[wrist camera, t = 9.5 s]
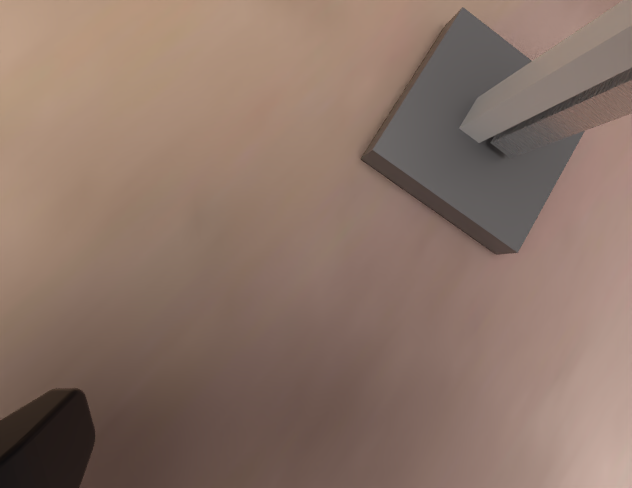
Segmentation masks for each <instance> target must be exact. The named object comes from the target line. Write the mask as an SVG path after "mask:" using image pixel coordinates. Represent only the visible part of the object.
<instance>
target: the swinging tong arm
mask: <svg viewBox="0 0 632 488" xmlns="http://www.w3.org/2000/svg"><path fill="white" fill-rule="evenodd" d="M629 114H632V68H630V69H628V70H626V71H624V72H622V73H620V74H617V75H615V76H613V77H611V78H609V79H607V80H605V81H603V82H601V83H599V84H597V85H595V86H593V87H591V88H589V89H587V90H585V91H583V92H581V93H579V94H577V95H575V96H573V97H571V98H569V99H567V100H565V101H563V102H561V103H559V104H557V105H555V106H553V107H551V108H549V109H547V110H545V111H543V112H541V113H539V114H537V115H535V116H533V117H531V118H529V119H527V120H525V121H523V122H521V123H519V124H517V125H515V126H513V127H511V128H509V129H507V130H505V131H503V132H501V133H499V134H497V135H495V136H494V137H493V139H492V141H491V142H490V143H491V144H492V145H494V146H495V147H496V148H498V149H499V150H500V151H501V152H503V153H504V154H505V155H507V156H508V157H509V158H512V157H514V156H517V155H520V154H523V153H525V152H528V151H531V150H534V149H536V148H539V147H542V146H544V145H547V144H550V143H553V142H555V141H558V140H561V139H563V138H566V137H569V136H572V135H574V134H577V133H580V132H583V131H585V130H588V129H591V128H593V127H596V126H599V125H602V124H604V123H607V122H610V121H612V120H615V119H618V118H621V117H623V116H626V115H629Z"/></svg>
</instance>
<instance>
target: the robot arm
mask: <svg viewBox="0 0 632 488" xmlns="http://www.w3.org/2000/svg"><path fill="white" fill-rule="evenodd" d="M94 442H95V429H94V425H93V422H92V418H91V414H90V411H89V407H88V403H87V400H86V396H85V394H84V392H83V391H82V390H80V389H78V388H58V389H53V390H50V391H48V392H47V393H45V394H43V395H42V396H40V397H38V398H37V399H35V400H33V401H32V402H30V403H28V404H27V405H25V406H23V407H22V408H20V409H18V410H17V411H15V412H13V413H12V414H10V415H8V416H7V417H5V418H3V419H2V420H0V488H79V487H80V484H81V481H82V479H83V476H84V473H85V470H86V467H87V464H88V461H89V458H90V455H91V453H92V450H93V446H94Z"/></svg>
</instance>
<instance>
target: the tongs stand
mask: <svg viewBox="0 0 632 488" xmlns="http://www.w3.org/2000/svg"><path fill="white" fill-rule="evenodd" d="M630 68H632V0H623V1H621V2H620V3H618V4H617V5H615V6H614V7H612V8H611V9H609V10H608V11H606V12H605V13H603V14H602V15H600V16H599V17H597V18H596V19H594V20H593V21H591V22H590V23H588V24H587V25H585V26H584V27H582V28H581V29H579V30H578V31H576V32H575V33H573V34H572V35H570V36H569V37H567V38H566V39H564V40H563V41H561V42H560V43H558V44H557V45H555V46H554V47H552V48H551V49H549V50H548V51H546V52H545V53H543V54H542V55H540V56H539V57H537V58H536V59H534V60H533V61H531V60H530V59H529V58H527V57H526V56H525V55H523V54H522V53H521V52H520V51H518V50H517V49H516V48H514V47H513V46H512V45H511V44H509V43H508V42H507V41H506V40H504V39H503V38H502V37H500V36H499V35H498V34H497V33H495V32H494V31H493V30H491V29H490V28H489V27H488V26H486V25H485V24H484V23H482V22H481V21H480V20H479V19H477V18H476V17H475V16H474V15H472V14H471V13H470V12H468V11H467V10H466V9H465V8H463V7H462V8H461V10H460V11H459V12H458V13H457V14H456V15H455V16H454V17H453V18H452V19H451V20H450V21H449V22H448V23H447V24H446V26H445V27H444V29H443V30H442V32H441V33H440V35H439V36H438V38H437V40H436V41H435V43H434V44H433V46H432V47H431V49H430V51H429V52H428V54H427V55H426V57H425V59H424V60H423V62H422V63H421V65H420V66H419V68H418V70H417V71H416V73H415V74H414V76H413V77H412V79H411V81H410V82H409V84H408V85H407V87H406V88H405V90H404V92H403V93H402V95H401V96H400V98H399V99H398V101H397V103H396V104H395V106H394V107H393V109H392V111H391V112H390V114H389V115H388V117H387V118H386V120H385V122H384V123H383V125H382V126H381V128H380V129H379V131H378V133H377V134H376V136H375V137H374V139H373V140H372V142H371V144H370V145H369V147H368V148H367V150H366V151H365V153H364V155H363V156H362V158H361V160H363V161H364V162H366V163H367V164H369V165H370V166H371V167H373V168H374V169H376V170H377V171H378V172H380V173H381V174H383V175H384V176H386V177H387V178H388V179H390V180H391V181H393V182H394V183H396V184H397V185H398V186H400V187H401V188H403V189H404V190H406V191H407V192H408V193H410V194H411V195H413V196H414V197H415V198H417V199H418V200H420V201H421V202H423V203H424V204H425V205H427V206H428V207H430V208H431V209H433V210H434V211H435V212H437V213H438V214H440V215H441V216H443V217H444V218H445V219H447V220H448V221H450V222H451V223H452V224H454V225H455V226H457V227H458V228H460V229H461V230H462V231H464V232H465V233H467V234H468V235H470V236H471V237H472V238H474V239H475V240H477V241H478V242H479V243H481V244H482V245H484V246H485V247H487V248H488V249H489V250H491V251H492V252H494V253H495V254H507V253H518V251H519V249H520V248H521V246H522V244H523V242H524V240H525V239H526V237H527V235H528V233H529V231H530V229H531V228H532V226H533V224H534V222H535V220H536V219H537V217H538V215H539V213H540V211H541V209H542V208H543V206H544V204H545V202H546V200H547V199H548V197H549V195H550V193H551V191H552V189H553V188H554V186H555V184H556V182H557V180H558V179H559V177H560V175H561V173H562V171H563V169H564V168H565V166H566V164H567V162H568V160H569V159H570V157H571V155H572V153H573V151H574V149H575V148H576V146H577V144H578V142H579V140H580V139H581V137H582V135H583V133H584V131H583V132H580V133H577V134H574V135H572V136H569V137H566V138H563V139H561V140H558V141H555V142H553V143H550V144H547V145H544V146H542V147H539V148H536V149H534V150H531V151H528V152H525V153H523V154H520V155H517V156H514V157H512V158H509V157H508V156H507V155H505V154H504V153H503V152H501V151H500V150H499V149H498V148H496V147H495V146H494V145H492V144H491V143H490V142H491V141H492V139H493V137H494V136H495V135H497V134H499V133H501V132H503V131H505V130H507V129H509V128H511V127H513V126H515V125H517V124H519V123H521V122H523V121H525V120H527V119H529V118H531V117H533V116H535V115H537V114H539V113H541V112H543V111H545V110H547V109H549V108H551V107H553V106H555V105H557V104H559V103H561V102H563V101H565V100H567V99H569V98H571V97H573V96H575V95H577V94H579V93H581V92H583V91H585V90H587V89H589V88H591V87H593V86H595V85H597V84H599V83H601V82H603V81H605V80H607V79H609V78H611V77H613V76H615V75H617V74H620V73H622V72H624V71H626V70H628V69H630Z"/></svg>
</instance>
